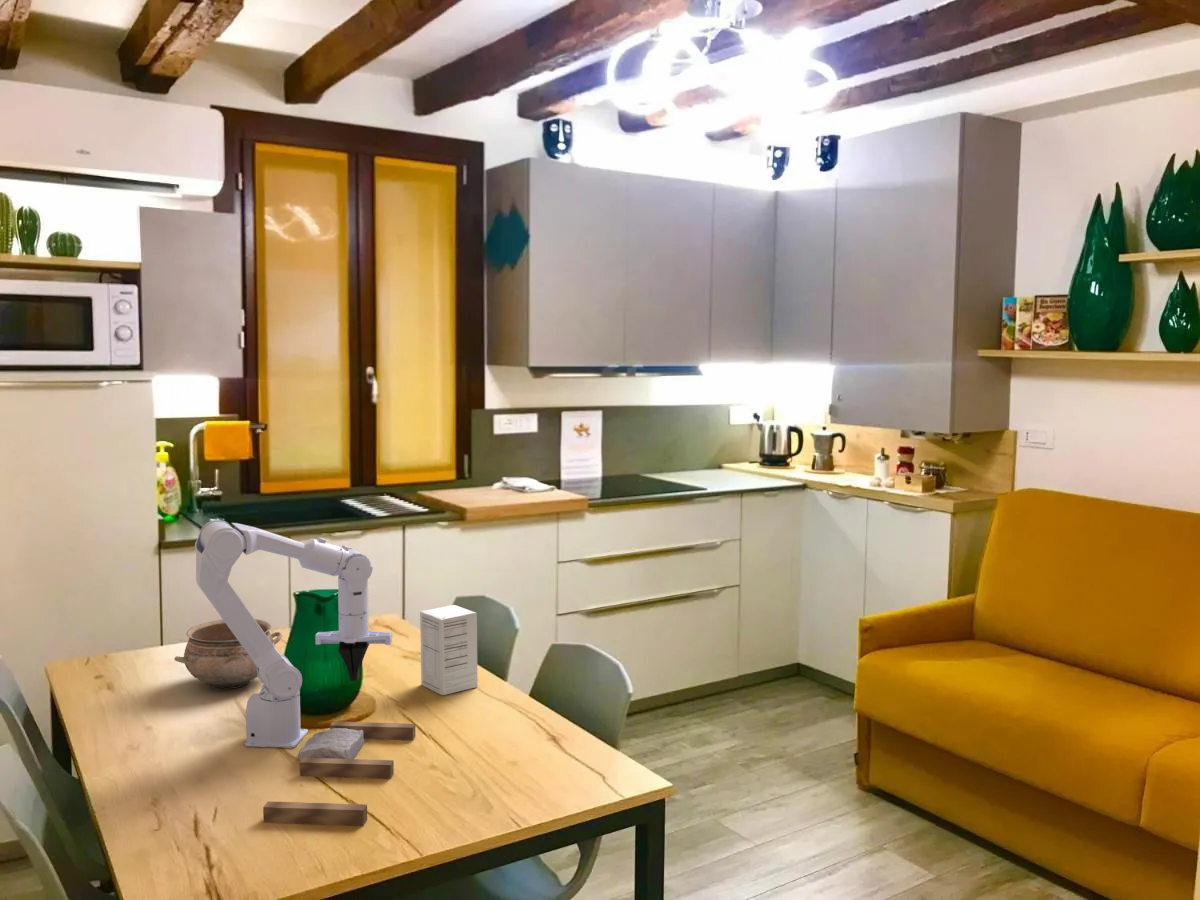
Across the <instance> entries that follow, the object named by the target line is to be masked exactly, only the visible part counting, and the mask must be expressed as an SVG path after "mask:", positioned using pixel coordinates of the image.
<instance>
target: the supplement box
mask: <svg viewBox="0 0 1200 900" xmlns="http://www.w3.org/2000/svg"><path fill="white" fill-rule="evenodd" d="M419 612H420V613H419V615H420V616H419V620H420V621H419V622H420V623H419V624H420V628H419V629H420V671H421V672H420V678H421V679H420V680H421V681H420V683H421V686H423V687H425V688H427V689H429V690H431V691H433V692H434V693H436V694H439V695H441V696H447V695H451V694H454V693H459V692H462V691H467V690H470V689H474V688H478V687H479V685H478V684H479V682H478V613H477V612H475V611H473V610H469V609H467V608H464V607H461V606H459V605H456V604H452V605H451V604H450V605H446V606H442V607H441V606H440V607H435V608H431V609H425V610H420V611H419Z"/></svg>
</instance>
